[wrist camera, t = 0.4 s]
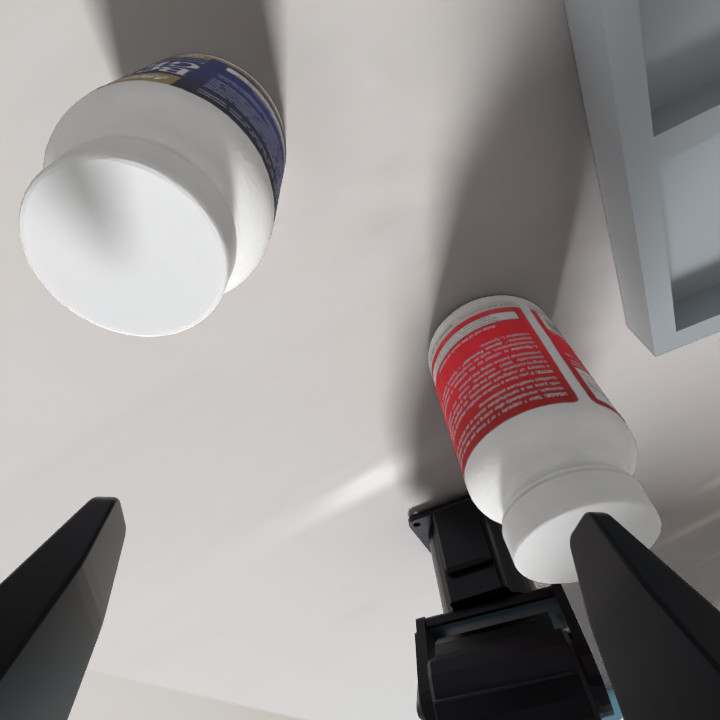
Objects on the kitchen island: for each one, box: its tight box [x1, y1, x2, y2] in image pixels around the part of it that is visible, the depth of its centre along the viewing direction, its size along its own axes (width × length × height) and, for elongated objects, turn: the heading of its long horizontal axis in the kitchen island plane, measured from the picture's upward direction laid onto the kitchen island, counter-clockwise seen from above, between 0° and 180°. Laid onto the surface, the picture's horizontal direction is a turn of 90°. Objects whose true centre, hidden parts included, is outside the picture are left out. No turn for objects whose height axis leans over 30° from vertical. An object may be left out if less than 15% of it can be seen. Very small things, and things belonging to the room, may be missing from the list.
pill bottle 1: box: [19, 54, 286, 337], centre depth 13 cm, size 5×5×10 cm
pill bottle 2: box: [428, 295, 661, 584], centre depth 20 cm, size 6×6×11 cm
